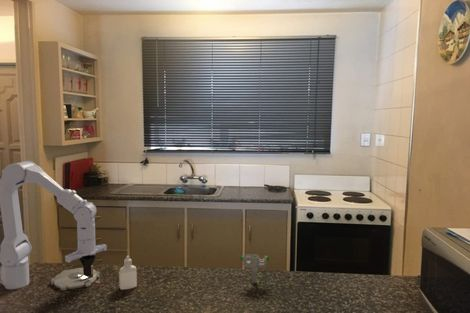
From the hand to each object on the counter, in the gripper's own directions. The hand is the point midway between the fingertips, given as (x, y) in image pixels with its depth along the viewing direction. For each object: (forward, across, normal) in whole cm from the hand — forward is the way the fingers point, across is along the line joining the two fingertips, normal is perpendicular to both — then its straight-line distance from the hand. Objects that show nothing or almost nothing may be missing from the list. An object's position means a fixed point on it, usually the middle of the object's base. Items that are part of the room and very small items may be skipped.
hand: (87, 275), depth 121 cm
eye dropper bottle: (+4, +7, -14) cm, 16 cm away
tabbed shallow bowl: (+3, -1, +5) cm, 6 cm away
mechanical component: (+4, +38, -46) cm, 59 cm away
